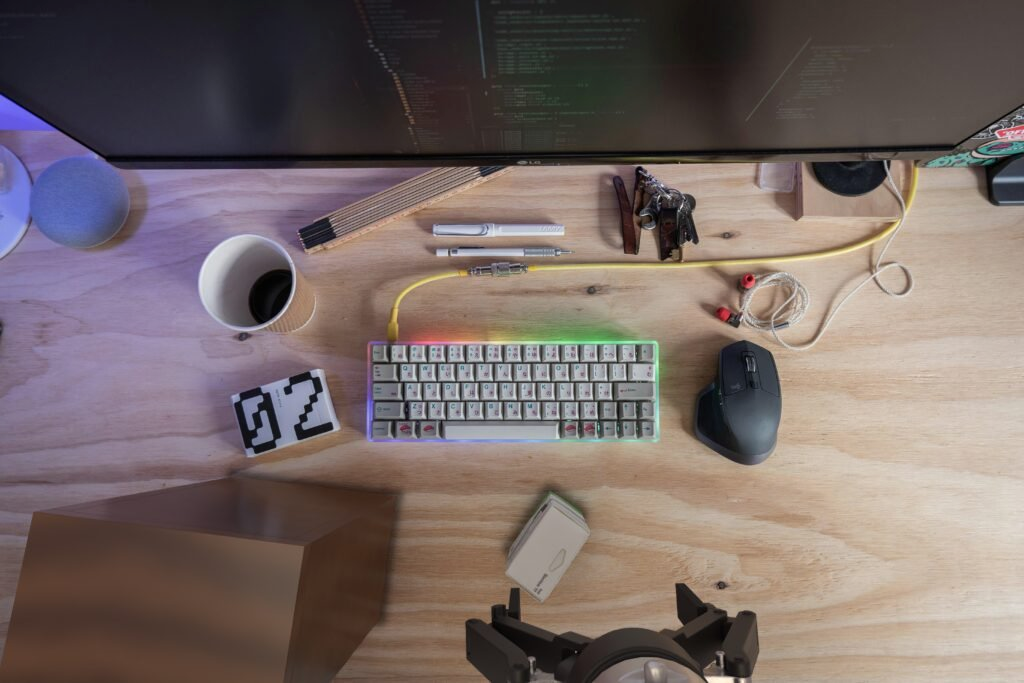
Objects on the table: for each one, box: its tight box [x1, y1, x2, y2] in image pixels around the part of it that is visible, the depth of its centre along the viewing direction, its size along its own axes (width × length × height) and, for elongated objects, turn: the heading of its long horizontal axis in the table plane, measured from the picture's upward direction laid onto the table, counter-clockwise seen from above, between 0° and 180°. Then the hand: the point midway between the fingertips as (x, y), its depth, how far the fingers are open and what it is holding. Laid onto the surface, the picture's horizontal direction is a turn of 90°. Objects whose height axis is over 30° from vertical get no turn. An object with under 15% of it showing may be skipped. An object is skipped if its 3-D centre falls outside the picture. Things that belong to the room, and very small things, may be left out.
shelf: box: [0, 508, 312, 683], centre depth 43 cm, size 14×20×2 cm
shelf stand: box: [50, 475, 397, 683], centre depth 57 cm, size 14×20×28 cm
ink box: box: [504, 490, 591, 604], centre depth 65 cm, size 9×5×12 cm, turn 144°
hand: (598, 602), depth 50 cm, fingers open, 13 cm apart
